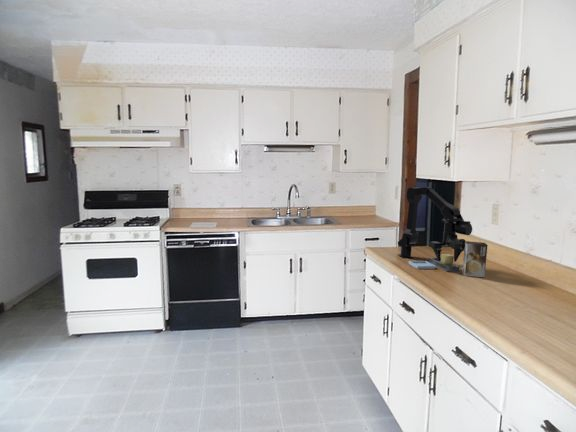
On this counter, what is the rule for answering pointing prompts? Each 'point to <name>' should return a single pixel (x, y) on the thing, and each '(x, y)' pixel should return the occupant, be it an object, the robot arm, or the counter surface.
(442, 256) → the brushed brass block
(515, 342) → the counter surface
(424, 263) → the tray
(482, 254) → the coffee box
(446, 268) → the plate with rectangular hole
